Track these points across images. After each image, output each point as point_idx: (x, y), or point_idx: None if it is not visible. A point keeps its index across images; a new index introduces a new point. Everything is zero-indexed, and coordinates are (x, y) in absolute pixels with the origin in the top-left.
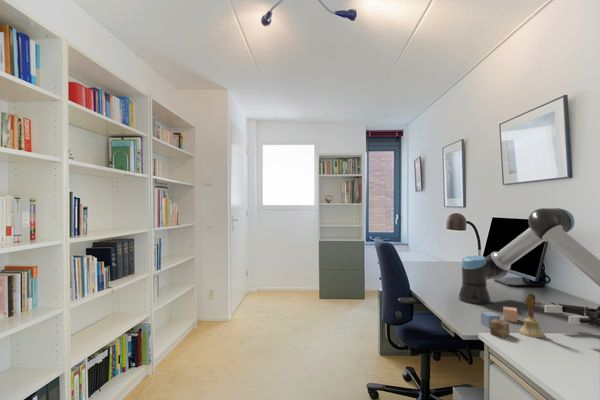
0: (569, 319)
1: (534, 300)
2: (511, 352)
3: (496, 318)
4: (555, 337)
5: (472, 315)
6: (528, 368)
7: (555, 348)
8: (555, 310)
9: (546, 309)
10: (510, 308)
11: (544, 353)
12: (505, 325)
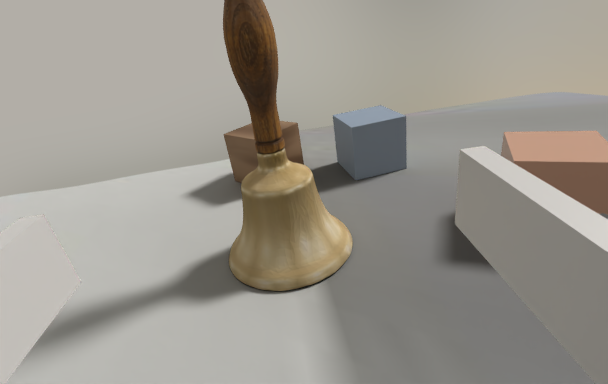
0: (48, 249)
1: None
2: (123, 182)
3: (346, 135)
4: (231, 339)
5: (495, 139)
6: (28, 193)
7: (88, 278)
8: (530, 277)
9: (460, 196)
10: (568, 146)
11: (72, 235)
12: (232, 140)
